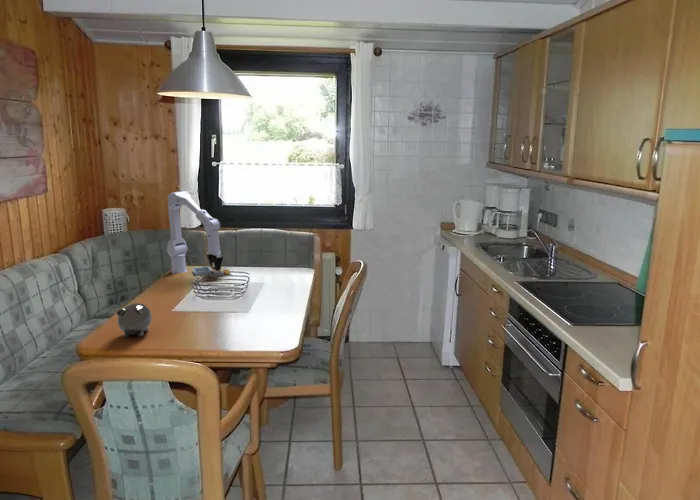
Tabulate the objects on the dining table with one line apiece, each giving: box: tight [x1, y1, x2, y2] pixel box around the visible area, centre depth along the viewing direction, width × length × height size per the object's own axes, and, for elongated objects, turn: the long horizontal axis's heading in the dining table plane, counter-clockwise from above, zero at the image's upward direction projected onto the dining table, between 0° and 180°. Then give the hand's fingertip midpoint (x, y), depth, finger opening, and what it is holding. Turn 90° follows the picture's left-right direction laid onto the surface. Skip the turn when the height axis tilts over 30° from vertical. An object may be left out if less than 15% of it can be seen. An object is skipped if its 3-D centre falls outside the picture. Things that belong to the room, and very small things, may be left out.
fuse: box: [211, 262, 220, 274], centre depth 276 cm, size 3×3×7 cm
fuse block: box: [209, 268, 233, 279], centre depth 277 cm, size 8×10×3 cm
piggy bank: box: [116, 302, 153, 338], centre depth 195 cm, size 11×15×12 cm
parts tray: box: [192, 266, 213, 277], centre depth 283 cm, size 10×8×2 cm
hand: (215, 268), depth 276 cm, fingers open, 7 cm apart
